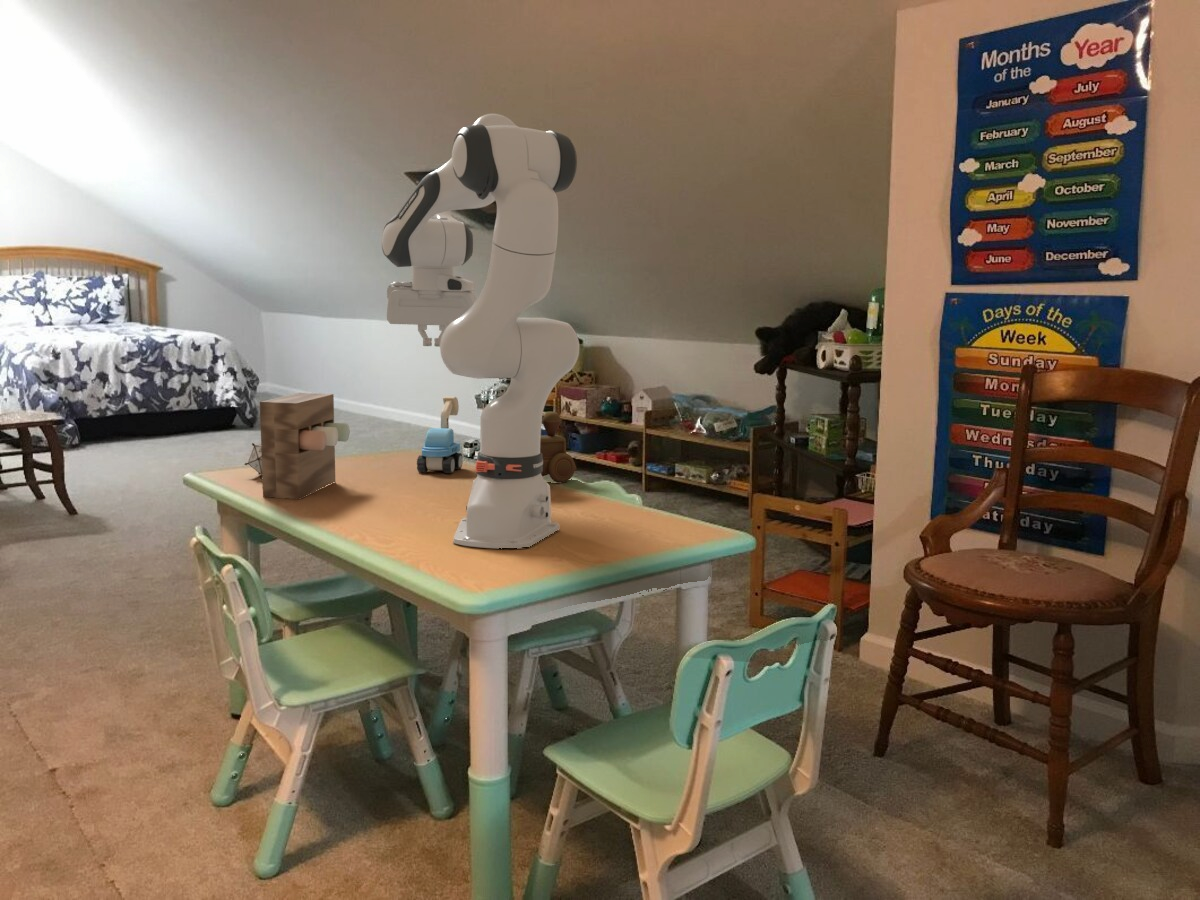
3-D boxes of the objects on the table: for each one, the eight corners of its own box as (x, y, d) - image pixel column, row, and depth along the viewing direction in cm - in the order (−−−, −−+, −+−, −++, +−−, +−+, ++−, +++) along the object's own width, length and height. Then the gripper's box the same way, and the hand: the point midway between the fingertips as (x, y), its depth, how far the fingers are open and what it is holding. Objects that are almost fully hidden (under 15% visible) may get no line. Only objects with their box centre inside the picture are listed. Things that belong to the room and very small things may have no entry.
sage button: (349, 440, 217) (349, 422, 217) (342, 442, 213) (341, 424, 213) (324, 438, 218) (323, 421, 218) (316, 441, 214) (315, 423, 214)
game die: (267, 490, 229) (277, 452, 233) (288, 481, 224) (298, 443, 228) (233, 475, 223) (244, 436, 227) (254, 466, 218) (265, 427, 222)
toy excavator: (471, 463, 248) (471, 396, 245) (449, 476, 232) (449, 403, 229) (438, 462, 249) (438, 394, 246) (415, 474, 233) (414, 402, 230)
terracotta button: (326, 448, 206) (326, 429, 205) (318, 451, 202) (317, 432, 201) (299, 447, 207) (299, 428, 206) (290, 450, 203) (290, 431, 202)
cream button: (338, 444, 212) (338, 426, 211) (330, 447, 208) (330, 428, 207) (312, 443, 212) (311, 424, 212) (303, 445, 209) (303, 427, 208)
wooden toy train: (503, 490, 217) (503, 415, 214) (480, 481, 226) (480, 409, 224) (580, 482, 228) (581, 411, 225) (555, 473, 237) (556, 405, 234)
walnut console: (335, 482, 221) (333, 394, 217) (299, 499, 203) (296, 403, 200) (301, 480, 222) (299, 392, 218) (263, 497, 204) (259, 401, 201)
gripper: (381, 281, 211) (382, 345, 214) (473, 283, 208) (473, 348, 211) (392, 281, 217) (392, 344, 220) (481, 283, 214) (481, 346, 217)
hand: (433, 346), depth 215 cm, fingers closed
